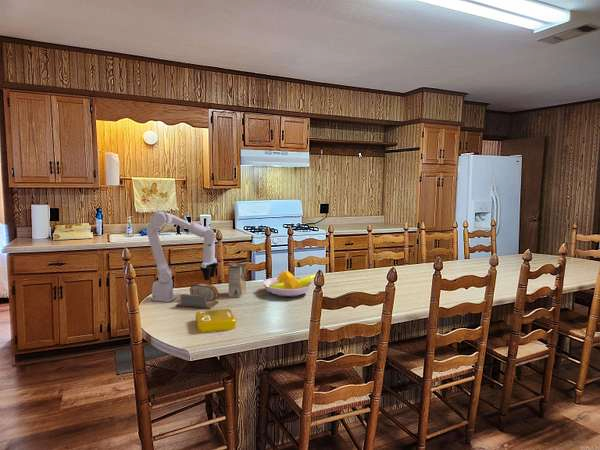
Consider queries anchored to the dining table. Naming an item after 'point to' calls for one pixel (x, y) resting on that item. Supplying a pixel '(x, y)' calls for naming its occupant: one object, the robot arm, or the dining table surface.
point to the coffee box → (237, 280)
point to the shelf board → (209, 305)
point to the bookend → (193, 300)
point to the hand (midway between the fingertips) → (209, 278)
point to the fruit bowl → (288, 284)
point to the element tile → (215, 320)
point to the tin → (204, 291)
